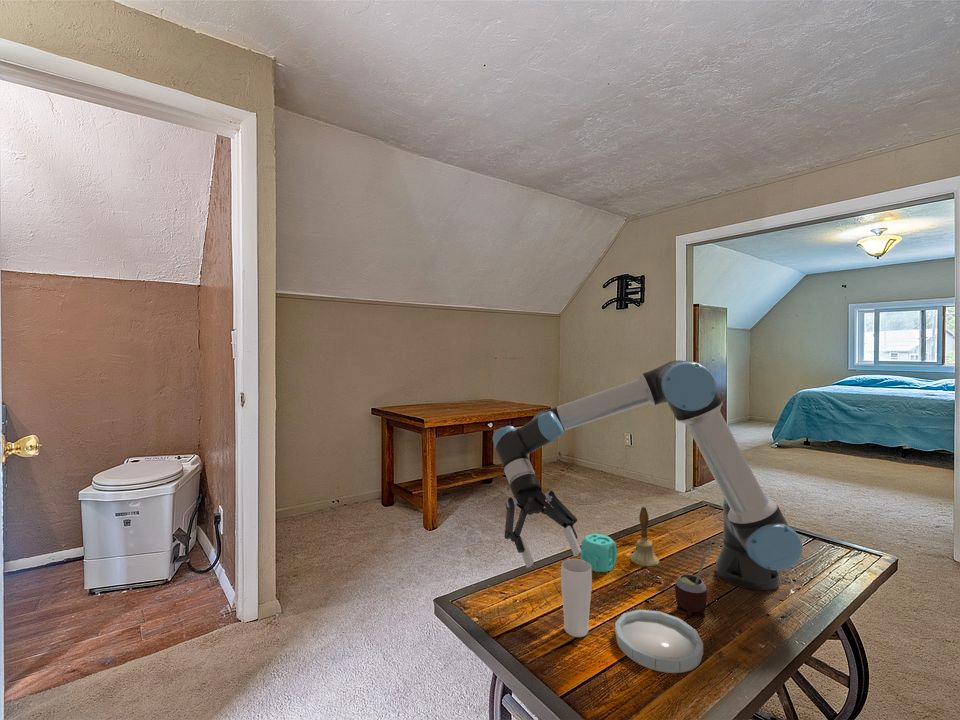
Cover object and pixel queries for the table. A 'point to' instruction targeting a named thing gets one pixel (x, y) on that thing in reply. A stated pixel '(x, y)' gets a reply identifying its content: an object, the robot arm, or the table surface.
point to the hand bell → (644, 545)
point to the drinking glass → (576, 595)
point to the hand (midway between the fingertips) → (554, 559)
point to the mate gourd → (692, 593)
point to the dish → (659, 641)
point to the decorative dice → (599, 552)
